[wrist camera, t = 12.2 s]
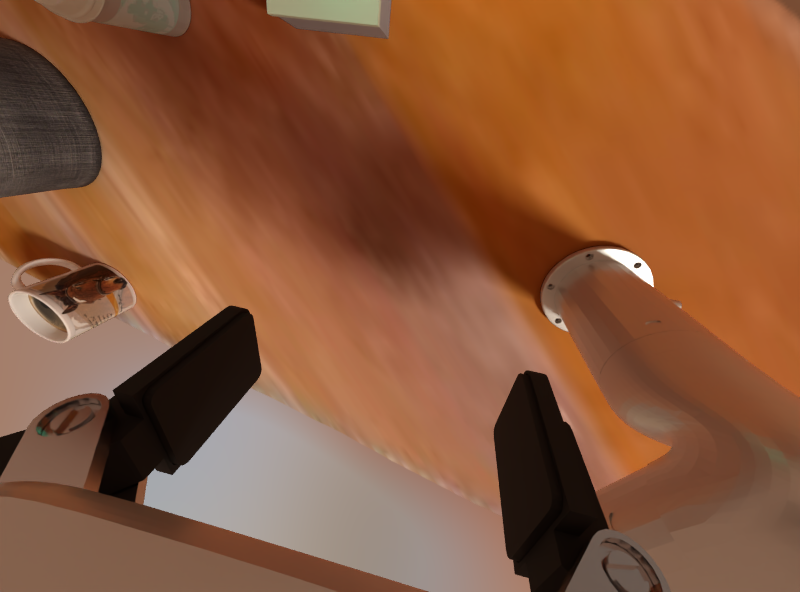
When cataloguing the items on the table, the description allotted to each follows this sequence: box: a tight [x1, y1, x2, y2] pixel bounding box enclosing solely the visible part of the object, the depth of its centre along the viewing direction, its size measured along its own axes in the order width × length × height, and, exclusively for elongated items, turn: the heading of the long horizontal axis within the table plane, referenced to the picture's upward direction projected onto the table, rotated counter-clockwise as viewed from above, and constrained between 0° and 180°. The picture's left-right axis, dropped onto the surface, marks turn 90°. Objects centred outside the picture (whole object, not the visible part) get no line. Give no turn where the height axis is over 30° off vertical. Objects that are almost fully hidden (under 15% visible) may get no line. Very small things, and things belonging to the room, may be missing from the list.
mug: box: [8, 258, 136, 343], centre depth 49 cm, size 10×12×11 cm
